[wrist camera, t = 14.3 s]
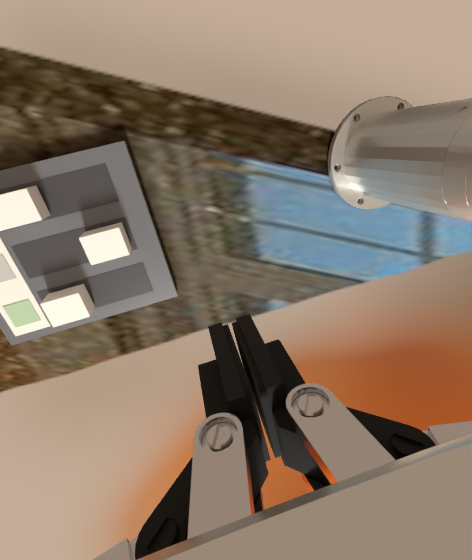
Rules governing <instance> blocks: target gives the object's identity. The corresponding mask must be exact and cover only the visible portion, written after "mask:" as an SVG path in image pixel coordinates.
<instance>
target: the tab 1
mask: <svg viewBox="0 0 472 560" xmlns="http://www.w3.org/2000/svg"><path fill="white" fill-rule="evenodd" d="M48 216H50V213H49V211H48V208H47V206H46V204H45V202H44V200H43V198H42V196H41V194H40V192H39V190H38V188H37V186H32V187H28V188H24V189H19V190H15V191H11V192H7V193H3V194H0V231H3V230H6V229H10V228H14V227H18V226H22V225H26V224H29V223H33V222H37V221H41V220H43V219H45V218H47V217H48Z"/></svg>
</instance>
